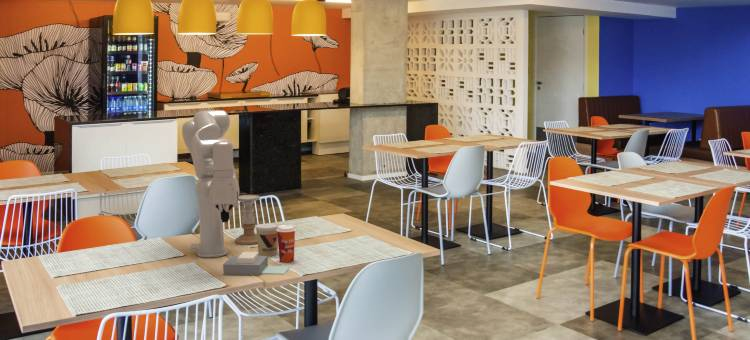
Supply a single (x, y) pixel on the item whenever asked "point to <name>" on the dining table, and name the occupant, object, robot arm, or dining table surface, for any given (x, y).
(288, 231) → the paper cup
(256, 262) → the grey flat block
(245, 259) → the pale pink flat block
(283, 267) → the mat
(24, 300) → the dining table surface
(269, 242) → the coffee cup
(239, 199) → the candle holder
